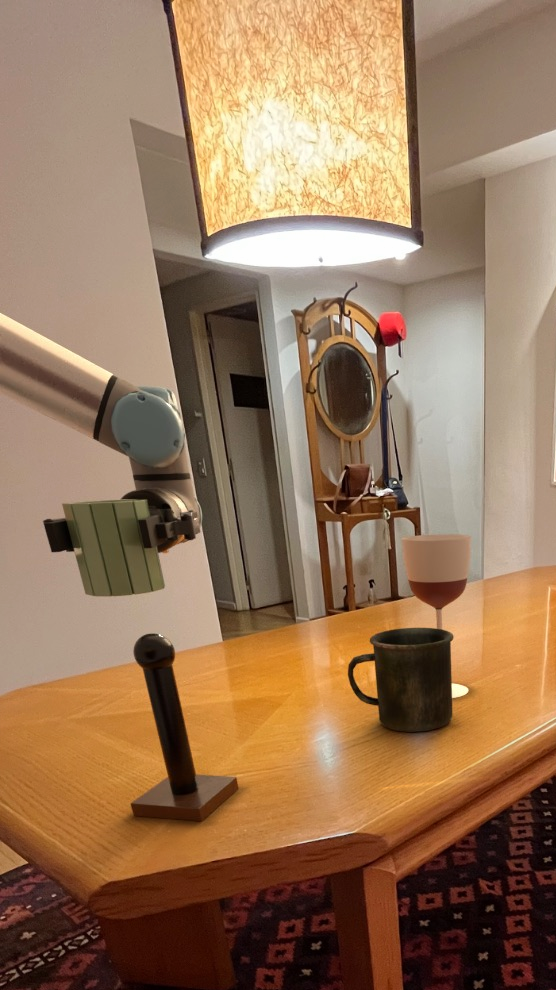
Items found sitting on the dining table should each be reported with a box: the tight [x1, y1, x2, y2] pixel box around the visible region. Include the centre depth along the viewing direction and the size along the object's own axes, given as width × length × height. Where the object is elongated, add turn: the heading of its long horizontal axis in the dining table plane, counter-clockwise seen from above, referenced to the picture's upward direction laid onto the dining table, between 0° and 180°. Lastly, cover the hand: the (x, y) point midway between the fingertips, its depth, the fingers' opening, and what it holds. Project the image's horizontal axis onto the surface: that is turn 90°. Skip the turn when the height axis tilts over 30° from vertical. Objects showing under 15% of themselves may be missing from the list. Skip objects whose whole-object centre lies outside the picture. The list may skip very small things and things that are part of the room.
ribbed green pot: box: [61, 499, 166, 598], centre depth 72 cm, size 8×8×9 cm
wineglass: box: [401, 533, 472, 699], centre depth 103 cm, size 9×10×23 cm
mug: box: [347, 627, 455, 733], centre depth 92 cm, size 11×15×12 cm
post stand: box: [130, 632, 239, 822], centre depth 70 cm, size 8×8×18 cm
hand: (98, 535), depth 67 cm, fingers closed on ribbed green pot, 8 cm apart
